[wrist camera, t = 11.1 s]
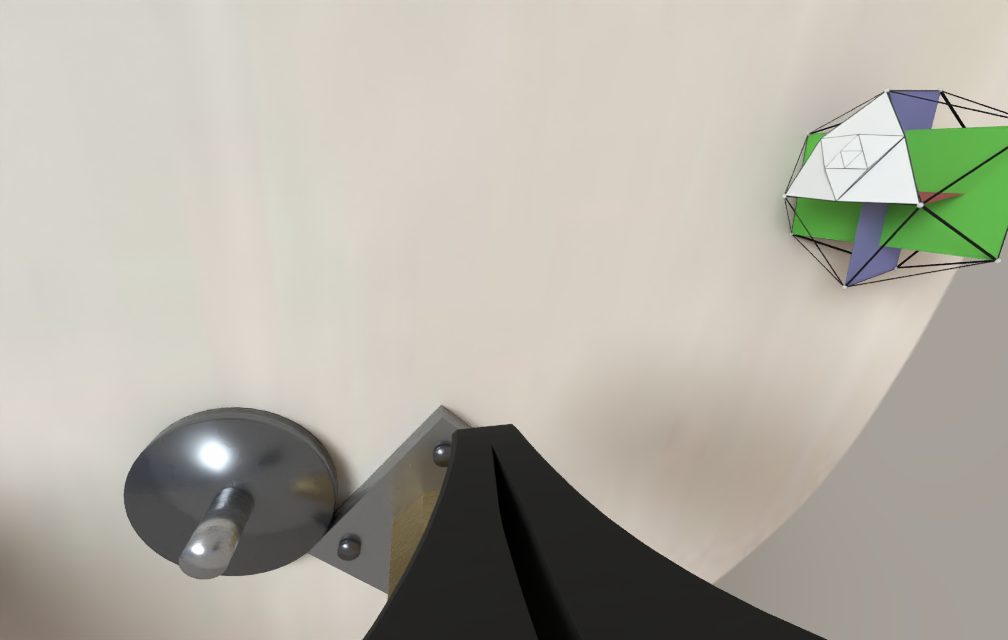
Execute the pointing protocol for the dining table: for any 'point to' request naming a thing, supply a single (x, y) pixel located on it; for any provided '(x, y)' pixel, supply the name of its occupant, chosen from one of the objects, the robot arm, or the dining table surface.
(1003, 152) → the geometric puzzle
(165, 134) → the dining table surface
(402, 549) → the brass collar
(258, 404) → the dining table surface
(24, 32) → the dining table surface
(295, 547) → the stand
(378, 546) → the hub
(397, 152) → the dining table surface
